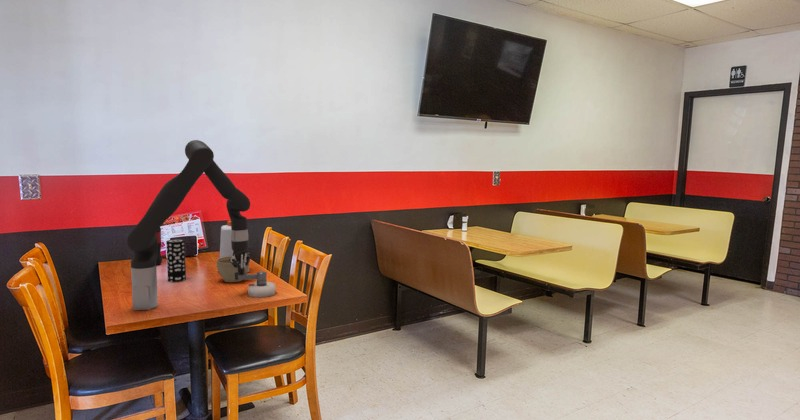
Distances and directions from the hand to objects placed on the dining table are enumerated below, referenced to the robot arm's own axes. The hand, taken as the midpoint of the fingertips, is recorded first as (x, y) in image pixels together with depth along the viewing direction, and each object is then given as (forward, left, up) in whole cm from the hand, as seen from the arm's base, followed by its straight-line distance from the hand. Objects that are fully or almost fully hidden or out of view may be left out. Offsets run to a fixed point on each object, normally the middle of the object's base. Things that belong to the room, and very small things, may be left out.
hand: (241, 275), depth 220 cm
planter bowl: (+22, +7, -8) cm, 24 cm away
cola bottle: (+59, +57, -8) cm, 82 cm away
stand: (-3, -10, -8) cm, 13 cm away
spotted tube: (+25, +36, -8) cm, 44 cm away
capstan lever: (-3, -5, -4) cm, 7 cm away
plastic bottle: (+40, +10, -8) cm, 42 cm away
